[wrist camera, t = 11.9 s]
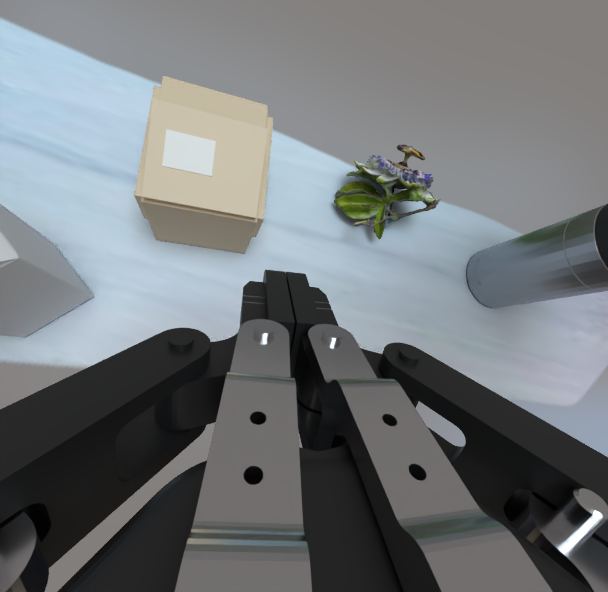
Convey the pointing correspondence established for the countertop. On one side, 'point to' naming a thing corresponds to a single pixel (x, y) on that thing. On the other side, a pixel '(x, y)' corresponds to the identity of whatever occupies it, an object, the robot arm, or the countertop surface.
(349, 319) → the countertop surface
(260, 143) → the flap
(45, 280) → the milk carton
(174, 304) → the countertop surface
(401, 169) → the passion flower
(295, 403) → the robot arm
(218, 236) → the carton
